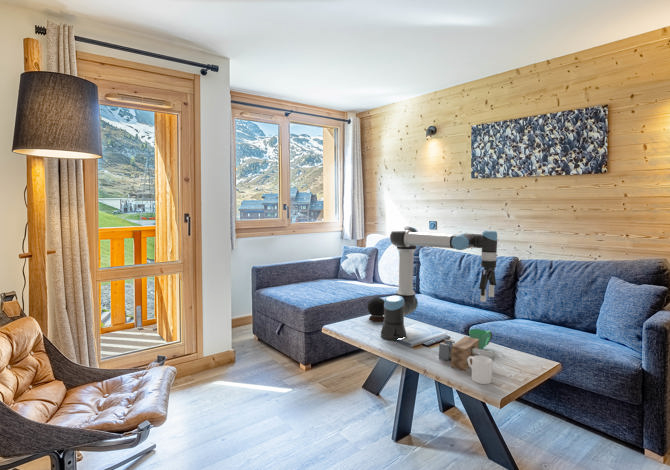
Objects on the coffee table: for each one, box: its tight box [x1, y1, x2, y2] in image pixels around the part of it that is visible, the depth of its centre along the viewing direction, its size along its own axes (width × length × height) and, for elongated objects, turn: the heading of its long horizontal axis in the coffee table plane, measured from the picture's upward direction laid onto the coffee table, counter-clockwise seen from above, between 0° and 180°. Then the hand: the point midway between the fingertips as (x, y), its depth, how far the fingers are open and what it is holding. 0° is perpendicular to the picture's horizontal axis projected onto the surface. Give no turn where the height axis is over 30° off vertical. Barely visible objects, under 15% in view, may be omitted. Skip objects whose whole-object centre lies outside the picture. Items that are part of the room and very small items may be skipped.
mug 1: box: [468, 328, 493, 350], centre depth 213 cm, size 15×10×10 cm
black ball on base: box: [367, 297, 385, 323], centre depth 266 cm, size 13×13×15 cm
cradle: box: [438, 339, 456, 362], centre depth 200 cm, size 5×8×8 cm, turn 141°
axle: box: [451, 342, 496, 361], centre depth 192 cm, size 20×4×4 cm, turn 52°
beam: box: [450, 335, 479, 372], centre depth 194 cm, size 7×18×10 cm, turn 142°
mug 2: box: [467, 356, 493, 385], centre depth 177 cm, size 8×12×10 cm, turn 32°
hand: (487, 299), depth 210 cm, fingers open, 13 cm apart
